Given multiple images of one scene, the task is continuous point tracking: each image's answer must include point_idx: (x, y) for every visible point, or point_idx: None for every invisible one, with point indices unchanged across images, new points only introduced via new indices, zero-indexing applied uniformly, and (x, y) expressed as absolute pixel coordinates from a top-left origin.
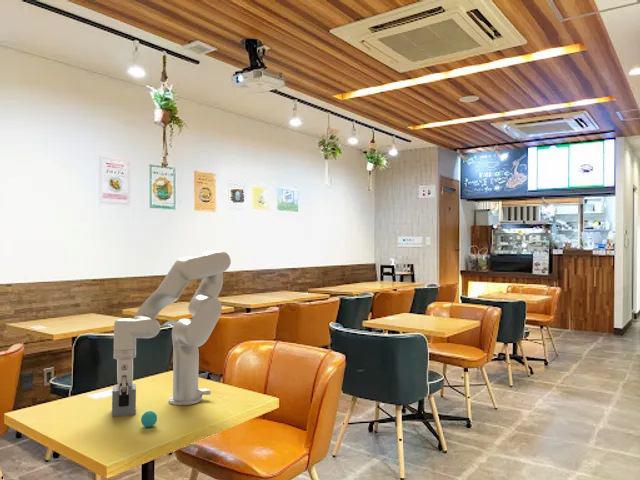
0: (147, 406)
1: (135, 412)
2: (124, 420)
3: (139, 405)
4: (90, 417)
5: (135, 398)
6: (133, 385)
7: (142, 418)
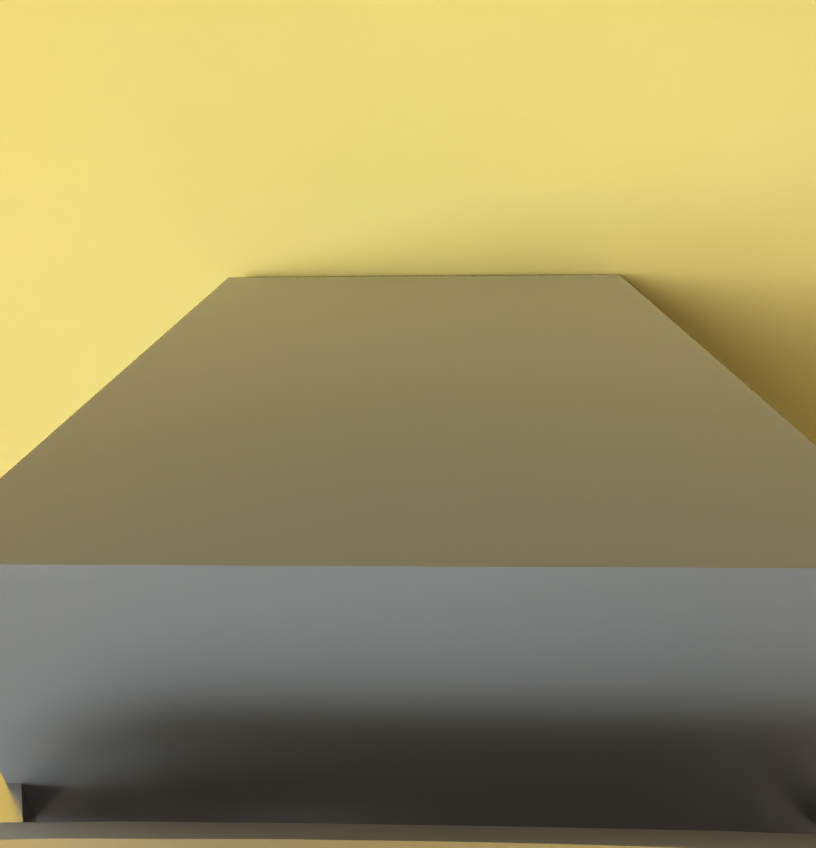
0: (146, 34)
1: (626, 285)
2: (801, 430)
3: (62, 204)
4: None
5: (752, 398)
6: (209, 648)
7: None
